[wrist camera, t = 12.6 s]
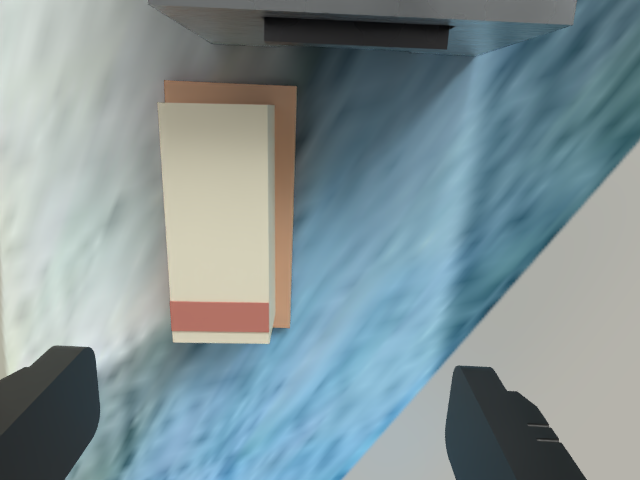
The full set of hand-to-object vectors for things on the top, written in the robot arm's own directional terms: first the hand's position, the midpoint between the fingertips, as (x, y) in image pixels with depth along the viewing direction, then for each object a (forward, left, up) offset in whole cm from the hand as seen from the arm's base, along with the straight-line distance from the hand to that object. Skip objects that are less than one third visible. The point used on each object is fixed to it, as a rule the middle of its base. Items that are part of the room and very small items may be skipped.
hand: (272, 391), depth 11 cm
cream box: (0, -4, -17) cm, 18 cm away
